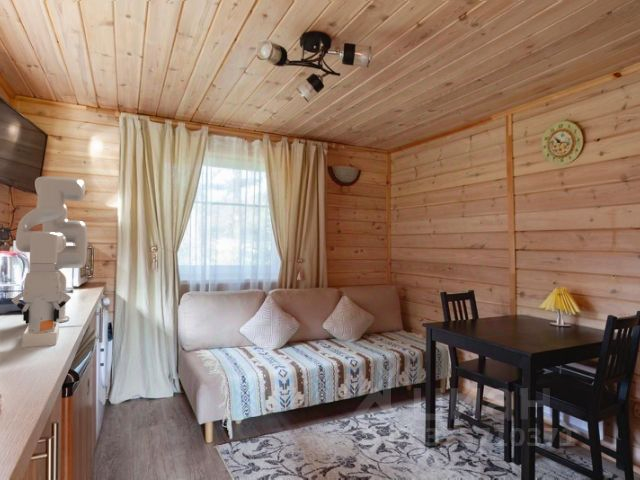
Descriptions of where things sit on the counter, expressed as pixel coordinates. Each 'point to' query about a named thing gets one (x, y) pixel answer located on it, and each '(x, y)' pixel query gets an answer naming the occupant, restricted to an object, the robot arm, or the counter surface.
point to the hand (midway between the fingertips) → (41, 321)
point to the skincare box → (41, 316)
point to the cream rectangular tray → (41, 337)
